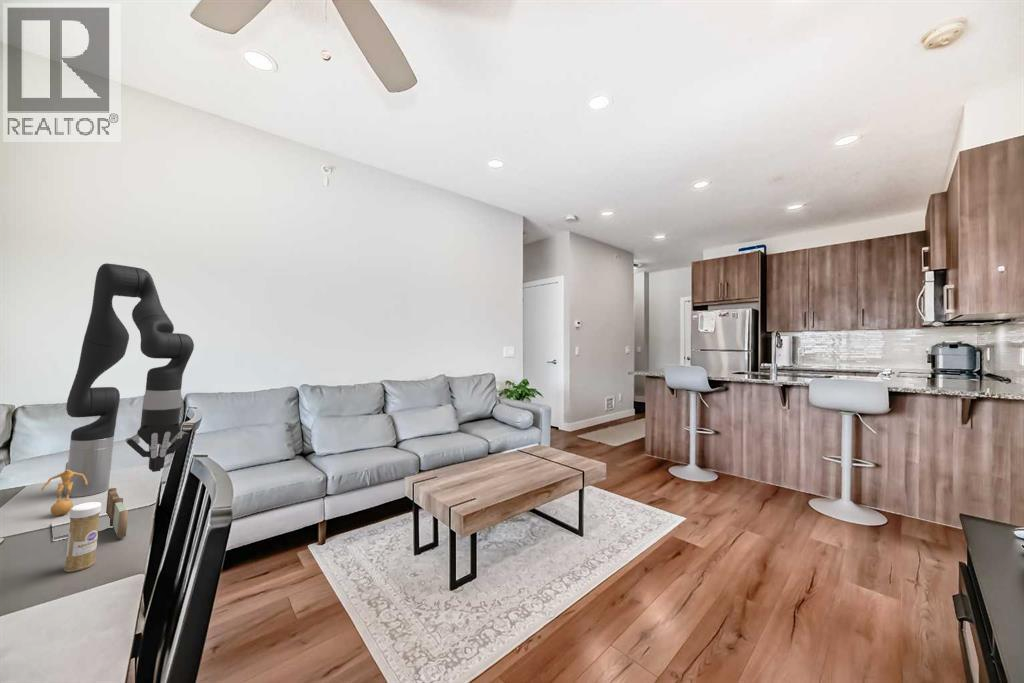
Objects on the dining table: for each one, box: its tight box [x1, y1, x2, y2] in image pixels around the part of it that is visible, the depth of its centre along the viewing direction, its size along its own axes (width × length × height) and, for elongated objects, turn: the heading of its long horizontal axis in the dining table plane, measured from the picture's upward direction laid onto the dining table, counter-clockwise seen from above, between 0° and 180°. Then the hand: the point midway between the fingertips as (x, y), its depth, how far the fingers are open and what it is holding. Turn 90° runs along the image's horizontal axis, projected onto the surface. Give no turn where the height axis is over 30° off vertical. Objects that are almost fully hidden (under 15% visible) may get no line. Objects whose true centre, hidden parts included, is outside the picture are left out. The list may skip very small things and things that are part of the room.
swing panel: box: [113, 502, 129, 539], centre depth 95 cm, size 9×2×6 cm, turn 53°
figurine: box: [41, 470, 88, 516], centre depth 103 cm, size 8×6×12 cm
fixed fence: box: [105, 487, 124, 526], centre depth 102 cm, size 12×2×7 cm, turn 53°
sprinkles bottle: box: [63, 501, 102, 573], centre depth 81 cm, size 5×5×14 cm
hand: (155, 470), depth 99 cm, fingers closed
